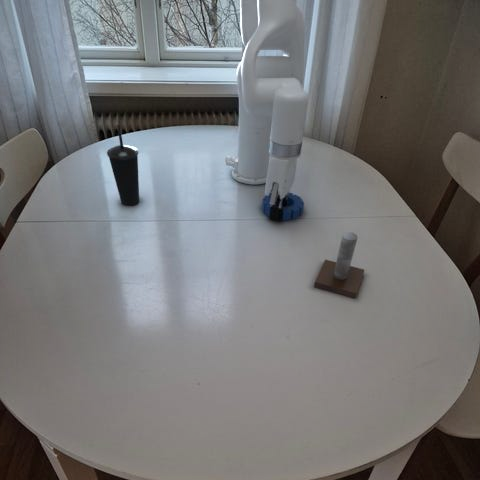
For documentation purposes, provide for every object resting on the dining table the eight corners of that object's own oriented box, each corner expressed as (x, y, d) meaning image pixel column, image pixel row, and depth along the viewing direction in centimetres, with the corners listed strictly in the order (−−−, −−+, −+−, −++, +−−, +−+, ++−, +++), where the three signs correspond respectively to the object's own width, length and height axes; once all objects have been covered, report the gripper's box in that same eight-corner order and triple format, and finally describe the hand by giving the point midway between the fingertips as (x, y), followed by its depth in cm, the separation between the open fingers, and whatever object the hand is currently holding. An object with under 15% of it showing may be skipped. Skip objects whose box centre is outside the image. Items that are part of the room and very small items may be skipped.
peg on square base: (313, 287, 93) (322, 241, 85) (324, 264, 99) (333, 220, 91) (355, 298, 90) (368, 253, 82) (363, 274, 96) (376, 230, 89)
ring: (256, 214, 114) (257, 205, 112) (270, 196, 121) (270, 188, 119) (295, 224, 111) (296, 215, 109) (306, 205, 118) (308, 196, 117)
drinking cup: (110, 204, 115) (95, 127, 101) (125, 192, 120) (114, 117, 106) (134, 211, 113) (123, 133, 99) (149, 198, 118) (141, 122, 104)
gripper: (281, 132, 107) (274, 199, 120) (258, 157, 96) (253, 228, 109) (310, 138, 105) (300, 206, 118) (290, 163, 94) (281, 235, 107)
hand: (277, 216), depth 113 cm, fingers closed on ring, 3 cm apart
